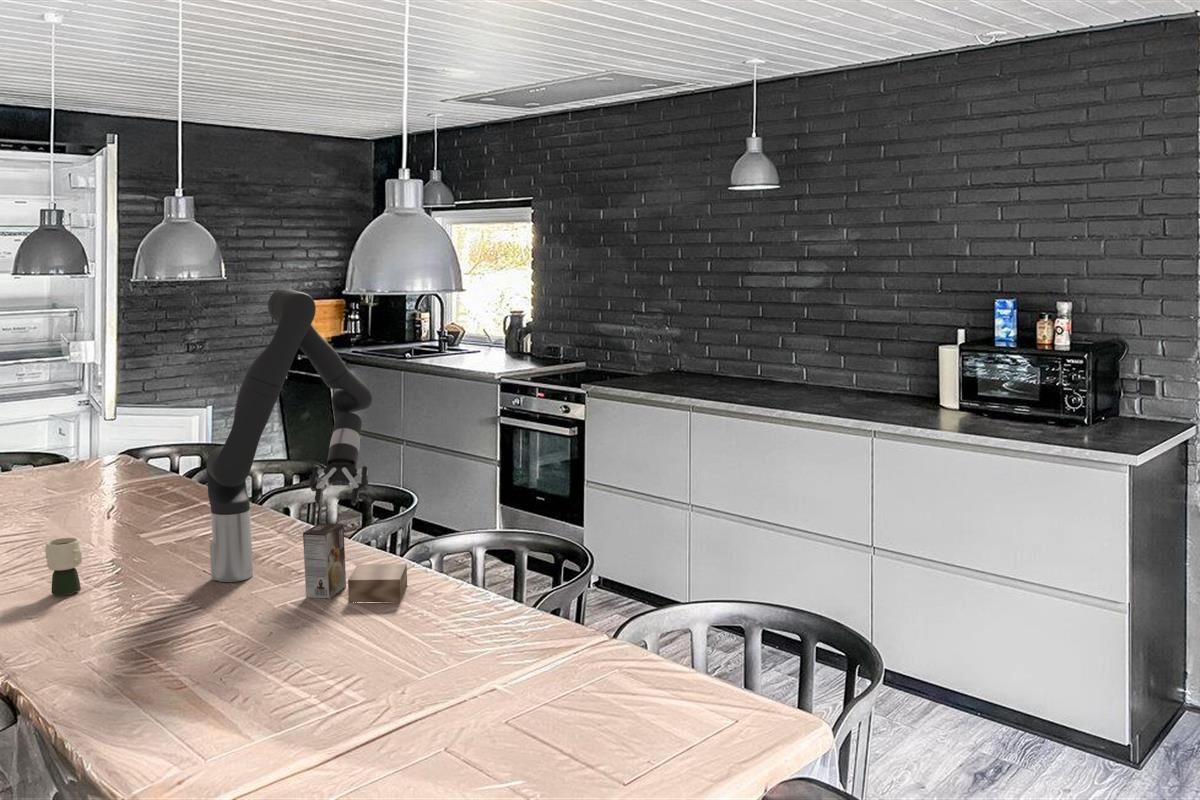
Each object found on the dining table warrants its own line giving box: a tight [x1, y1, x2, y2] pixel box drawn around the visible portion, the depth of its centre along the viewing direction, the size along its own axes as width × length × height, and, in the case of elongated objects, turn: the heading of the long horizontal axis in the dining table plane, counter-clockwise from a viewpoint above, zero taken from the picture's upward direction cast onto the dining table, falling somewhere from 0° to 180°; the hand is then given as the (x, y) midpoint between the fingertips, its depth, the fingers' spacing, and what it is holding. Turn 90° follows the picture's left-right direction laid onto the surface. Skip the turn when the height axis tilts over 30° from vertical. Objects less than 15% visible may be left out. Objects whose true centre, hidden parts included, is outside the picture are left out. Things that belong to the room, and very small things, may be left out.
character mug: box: [45, 536, 83, 596], centre depth 249 cm, size 11×7×13 cm, turn 70°
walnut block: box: [347, 563, 408, 604], centre depth 249 cm, size 12×12×6 cm
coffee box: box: [302, 522, 347, 599], centre depth 250 cm, size 9×6×16 cm
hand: (335, 503), depth 261 cm, fingers open, 8 cm apart
